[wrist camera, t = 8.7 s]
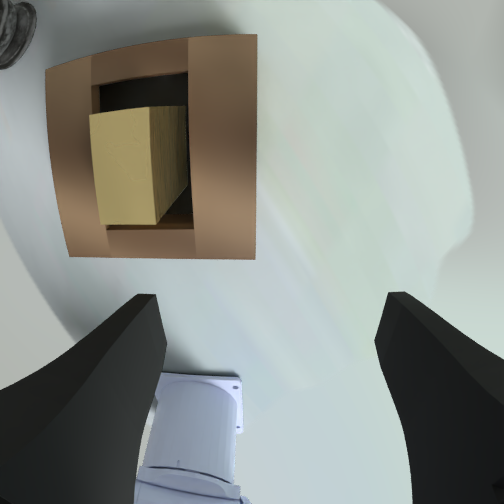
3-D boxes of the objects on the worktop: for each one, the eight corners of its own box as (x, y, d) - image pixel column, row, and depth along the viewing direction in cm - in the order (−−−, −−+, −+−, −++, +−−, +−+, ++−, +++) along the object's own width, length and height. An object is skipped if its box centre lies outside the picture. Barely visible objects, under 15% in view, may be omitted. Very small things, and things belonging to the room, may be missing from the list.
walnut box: (255, 226, 18) (255, 259, 14) (99, 227, 18) (69, 256, 14) (256, 51, 13) (257, 34, 10) (84, 72, 13) (45, 69, 10)
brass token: (187, 184, 17) (156, 224, 11) (146, 185, 17) (100, 224, 11) (185, 105, 15) (149, 106, 9) (142, 109, 15) (89, 114, 9)
